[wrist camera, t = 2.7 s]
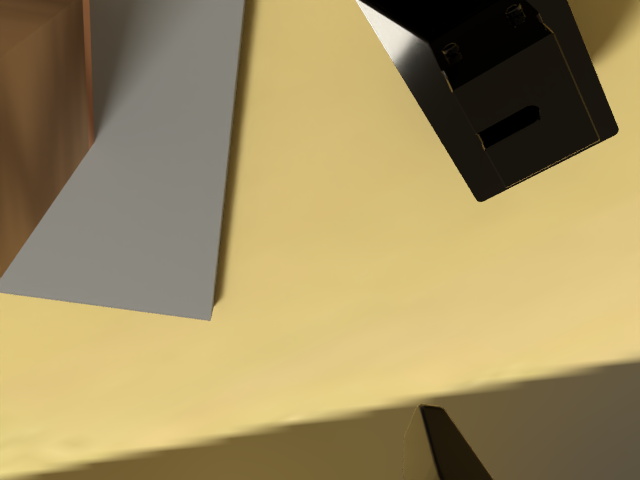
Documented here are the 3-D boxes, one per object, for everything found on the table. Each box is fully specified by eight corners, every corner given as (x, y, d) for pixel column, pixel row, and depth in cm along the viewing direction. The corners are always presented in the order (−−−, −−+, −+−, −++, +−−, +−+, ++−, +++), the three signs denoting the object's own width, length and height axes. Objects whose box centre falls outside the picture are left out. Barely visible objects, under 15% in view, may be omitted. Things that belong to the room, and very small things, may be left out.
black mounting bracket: (299, -45, 19) (293, -8, 15) (525, -208, 16) (585, -213, 12) (473, 234, 25) (500, 311, 21) (656, 145, 22) (723, 213, 18)
